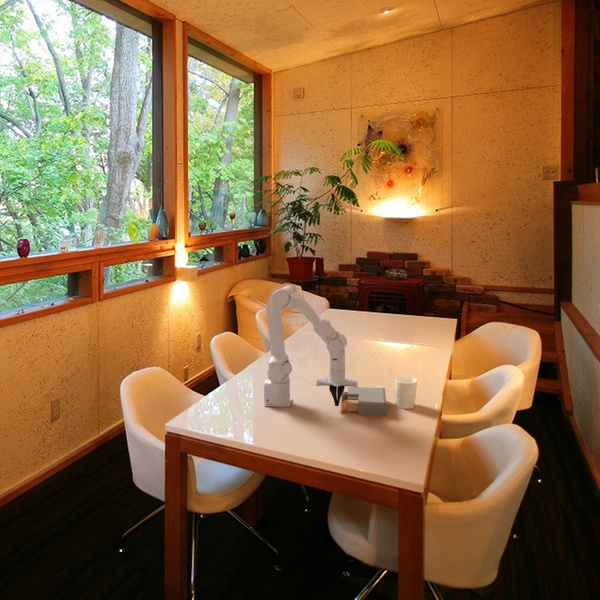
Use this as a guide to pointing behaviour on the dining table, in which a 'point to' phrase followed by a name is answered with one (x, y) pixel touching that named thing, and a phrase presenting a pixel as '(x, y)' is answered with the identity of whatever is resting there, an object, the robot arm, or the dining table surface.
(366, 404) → the box
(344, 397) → the walnut knob
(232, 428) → the dining table surface
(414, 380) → the white cup
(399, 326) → the dining table surface
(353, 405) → the orange knob
